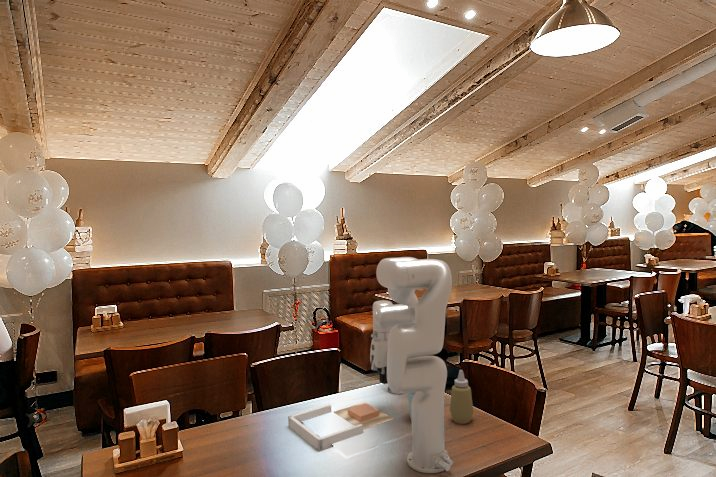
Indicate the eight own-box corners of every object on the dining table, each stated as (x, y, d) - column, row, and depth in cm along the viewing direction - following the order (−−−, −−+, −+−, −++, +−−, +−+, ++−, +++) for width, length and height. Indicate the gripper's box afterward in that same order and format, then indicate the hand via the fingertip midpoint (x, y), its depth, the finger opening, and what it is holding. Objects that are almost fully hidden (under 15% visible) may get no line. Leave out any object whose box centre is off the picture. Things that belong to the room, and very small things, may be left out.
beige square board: (394, 421, 168) (394, 418, 168) (361, 432, 160) (361, 430, 160) (364, 404, 183) (364, 402, 182) (333, 414, 175) (333, 411, 174)
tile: (378, 416, 170) (378, 410, 170) (360, 422, 166) (360, 416, 165) (365, 408, 177) (365, 403, 177) (347, 414, 172) (347, 409, 172)
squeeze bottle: (475, 425, 163) (475, 374, 162) (452, 426, 163) (451, 374, 162) (470, 415, 171) (470, 366, 170) (448, 415, 171) (447, 366, 170)
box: (363, 435, 158) (363, 425, 158) (319, 451, 149) (319, 440, 148) (329, 413, 176) (329, 404, 175) (288, 426, 166) (288, 416, 166)
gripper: (373, 340, 168) (373, 391, 169) (405, 333, 176) (406, 381, 178) (360, 335, 174) (361, 384, 176) (392, 328, 182) (393, 375, 184)
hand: (384, 382), depth 177 cm, fingers closed
